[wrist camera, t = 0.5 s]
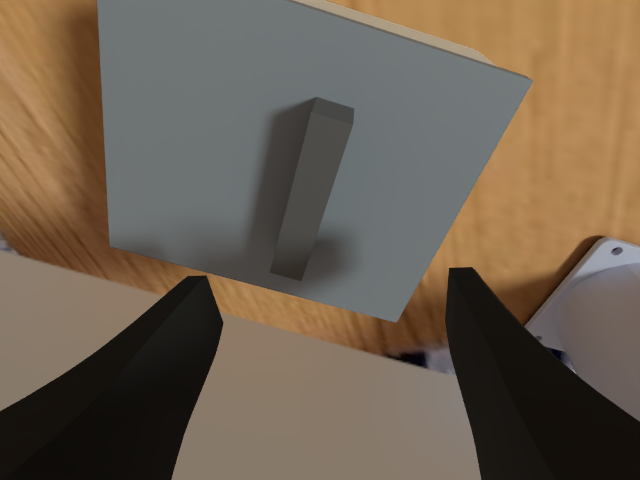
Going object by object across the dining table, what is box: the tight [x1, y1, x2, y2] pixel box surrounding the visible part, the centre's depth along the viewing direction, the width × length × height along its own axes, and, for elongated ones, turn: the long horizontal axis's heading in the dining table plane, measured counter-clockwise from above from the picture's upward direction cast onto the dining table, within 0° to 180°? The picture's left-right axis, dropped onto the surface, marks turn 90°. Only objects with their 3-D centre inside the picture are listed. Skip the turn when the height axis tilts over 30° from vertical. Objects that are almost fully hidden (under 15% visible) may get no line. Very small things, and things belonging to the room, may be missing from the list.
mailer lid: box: [97, 0, 533, 323], centre depth 13 cm, size 12×10×2 cm
